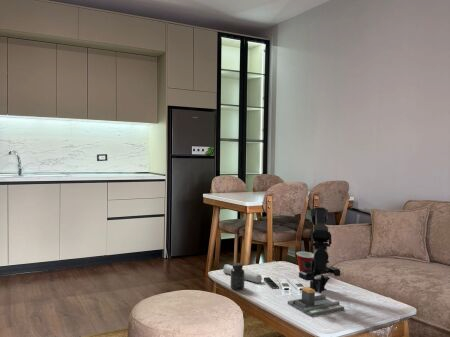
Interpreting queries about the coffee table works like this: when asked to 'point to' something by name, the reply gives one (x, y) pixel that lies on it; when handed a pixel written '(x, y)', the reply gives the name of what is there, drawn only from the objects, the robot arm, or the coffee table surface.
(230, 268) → the tube
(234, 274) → the supplement bottle
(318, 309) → the panel
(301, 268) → the plastic cup
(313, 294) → the handle
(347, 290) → the coffee table surface
